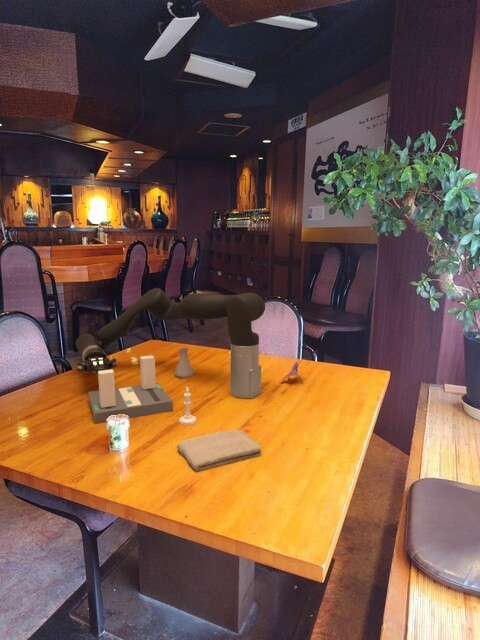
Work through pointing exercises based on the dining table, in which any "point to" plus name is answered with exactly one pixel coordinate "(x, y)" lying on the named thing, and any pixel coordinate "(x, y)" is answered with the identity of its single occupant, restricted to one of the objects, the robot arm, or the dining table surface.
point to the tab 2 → (147, 372)
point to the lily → (293, 370)
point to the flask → (184, 365)
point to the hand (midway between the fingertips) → (100, 371)
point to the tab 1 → (106, 388)
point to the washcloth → (218, 449)
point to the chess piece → (187, 411)
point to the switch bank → (132, 402)
